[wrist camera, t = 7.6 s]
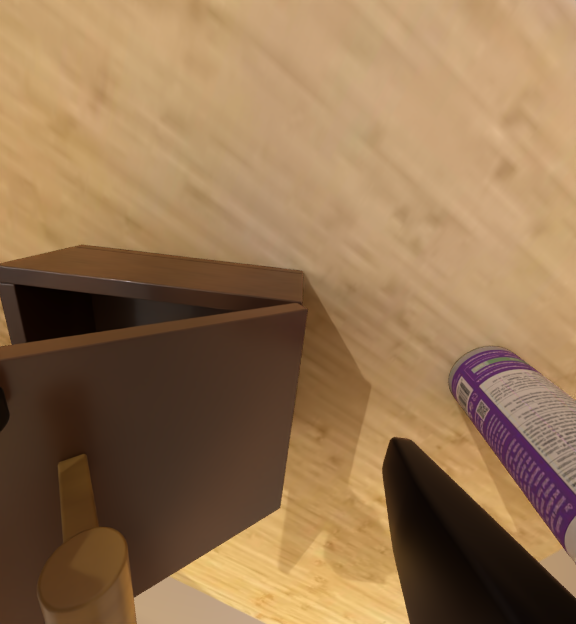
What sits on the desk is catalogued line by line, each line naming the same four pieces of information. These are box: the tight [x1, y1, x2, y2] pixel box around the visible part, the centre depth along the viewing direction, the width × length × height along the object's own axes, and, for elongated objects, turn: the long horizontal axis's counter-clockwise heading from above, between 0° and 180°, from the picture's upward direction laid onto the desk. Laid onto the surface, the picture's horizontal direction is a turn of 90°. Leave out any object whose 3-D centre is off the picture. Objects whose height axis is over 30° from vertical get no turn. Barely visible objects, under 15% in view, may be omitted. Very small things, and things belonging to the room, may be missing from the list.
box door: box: [0, 303, 308, 624], centre depth 9 cm, size 14×12×5 cm
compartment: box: [0, 245, 303, 345], centre depth 18 cm, size 14×12×6 cm
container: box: [449, 346, 576, 564], centre depth 14 cm, size 5×5×15 cm
